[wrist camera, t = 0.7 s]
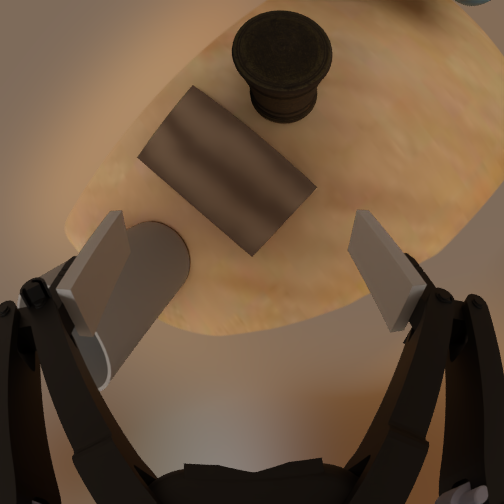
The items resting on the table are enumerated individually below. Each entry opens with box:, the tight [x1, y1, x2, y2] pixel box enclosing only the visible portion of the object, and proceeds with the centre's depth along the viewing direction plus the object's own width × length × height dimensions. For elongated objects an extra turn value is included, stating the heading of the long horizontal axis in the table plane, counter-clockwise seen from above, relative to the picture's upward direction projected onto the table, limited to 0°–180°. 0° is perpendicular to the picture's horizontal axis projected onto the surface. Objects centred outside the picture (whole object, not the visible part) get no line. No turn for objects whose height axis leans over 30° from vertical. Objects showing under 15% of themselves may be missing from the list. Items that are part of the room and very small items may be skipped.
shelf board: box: [137, 85, 317, 256], centre depth 38 cm, size 13×22×3 cm, turn 49°
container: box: [232, 11, 332, 123], centre depth 27 cm, size 9×9×18 cm
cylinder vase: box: [17, 222, 190, 391], centre depth 33 cm, size 12×12×25 cm
